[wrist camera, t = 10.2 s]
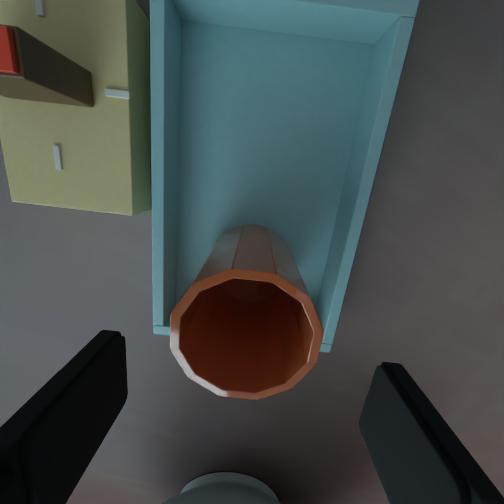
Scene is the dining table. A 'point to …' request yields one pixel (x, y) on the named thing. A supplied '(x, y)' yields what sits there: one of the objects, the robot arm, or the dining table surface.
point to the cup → (246, 318)
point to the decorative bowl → (225, 490)
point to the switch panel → (83, 110)
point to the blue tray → (269, 132)
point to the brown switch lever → (40, 71)
